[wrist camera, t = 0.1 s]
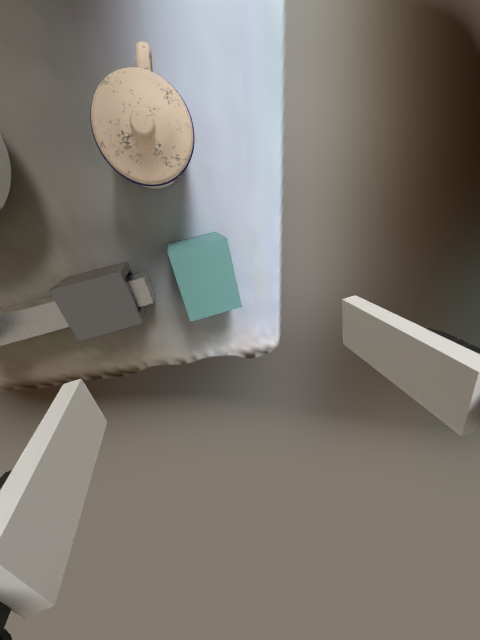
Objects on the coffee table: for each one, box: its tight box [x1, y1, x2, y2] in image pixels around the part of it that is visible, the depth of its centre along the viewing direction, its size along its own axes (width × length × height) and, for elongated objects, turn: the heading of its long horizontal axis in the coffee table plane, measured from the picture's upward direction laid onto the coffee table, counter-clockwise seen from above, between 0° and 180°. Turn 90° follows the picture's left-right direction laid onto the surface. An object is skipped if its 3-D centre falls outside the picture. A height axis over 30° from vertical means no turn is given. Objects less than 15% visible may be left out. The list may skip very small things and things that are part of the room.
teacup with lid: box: [90, 41, 194, 189], centre depth 26 cm, size 12×9×12 cm
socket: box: [167, 232, 242, 322], centre depth 35 cm, size 9×7×8 cm
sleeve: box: [49, 262, 146, 342], centre depth 34 cm, size 7×8×6 cm
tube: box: [0, 271, 155, 346], centre depth 30 cm, size 4×23×10 cm, turn 102°
